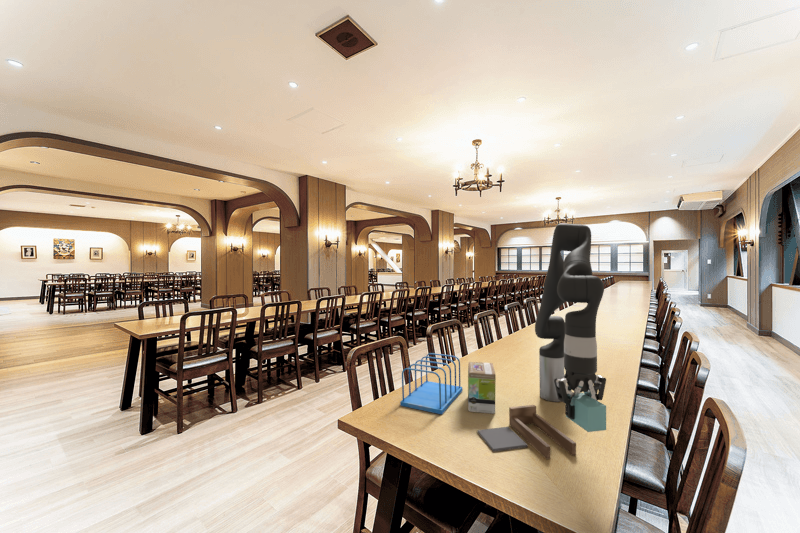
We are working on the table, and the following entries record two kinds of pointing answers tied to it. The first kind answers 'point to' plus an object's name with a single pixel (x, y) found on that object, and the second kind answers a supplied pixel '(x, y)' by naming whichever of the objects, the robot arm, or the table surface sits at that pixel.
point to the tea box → (481, 387)
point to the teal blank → (589, 413)
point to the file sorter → (431, 389)
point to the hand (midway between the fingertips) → (580, 416)
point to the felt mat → (501, 439)
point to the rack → (527, 416)
